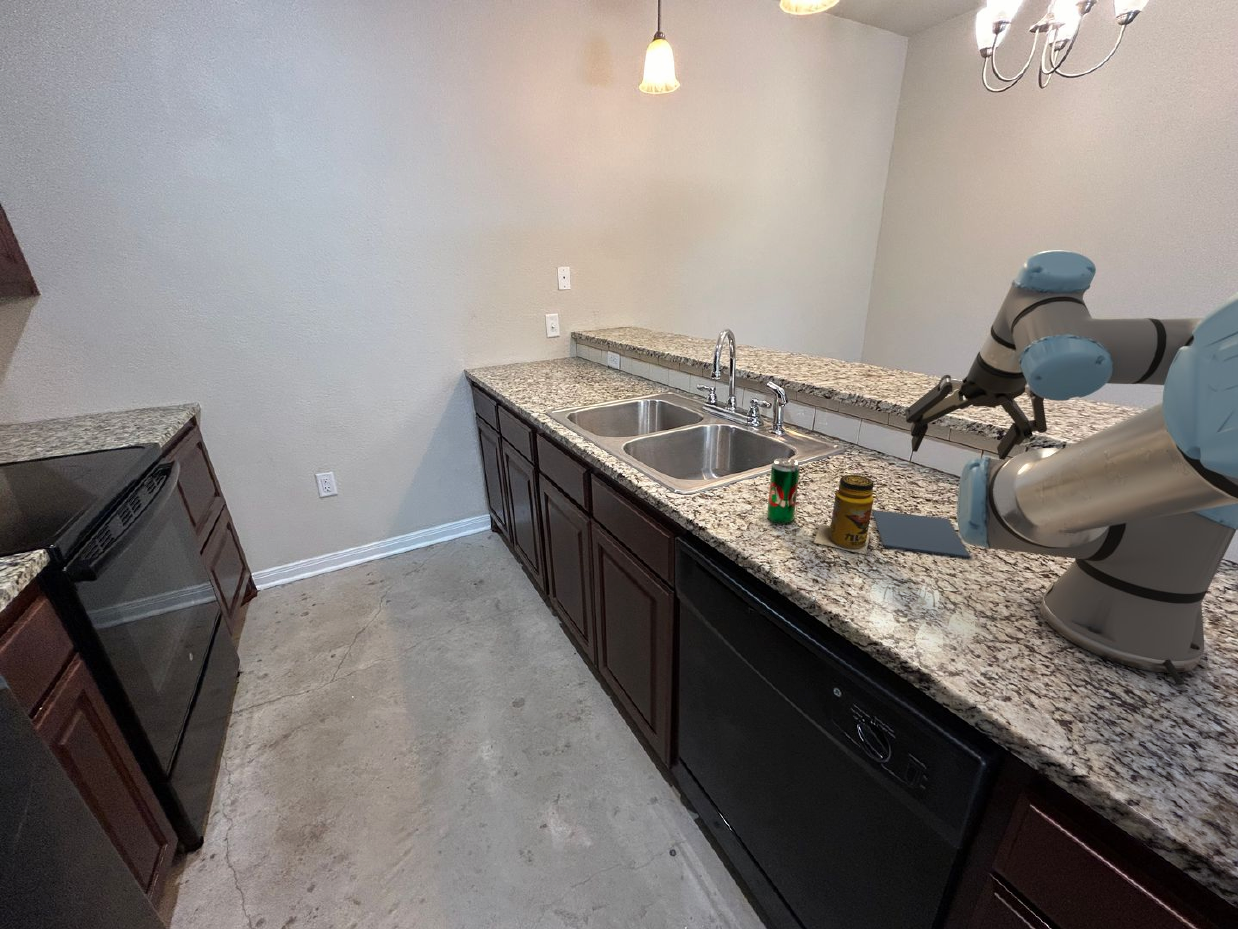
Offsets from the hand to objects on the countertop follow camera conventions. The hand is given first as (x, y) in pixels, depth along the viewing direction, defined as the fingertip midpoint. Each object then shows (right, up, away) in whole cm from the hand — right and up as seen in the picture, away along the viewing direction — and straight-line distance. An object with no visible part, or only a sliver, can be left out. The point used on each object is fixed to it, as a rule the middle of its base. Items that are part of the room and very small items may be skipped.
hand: (956, 449), depth 90 cm
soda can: (-29, -13, +8) cm, 33 cm away
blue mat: (-6, -15, +1) cm, 17 cm away
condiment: (-21, -16, 0) cm, 26 cm away
